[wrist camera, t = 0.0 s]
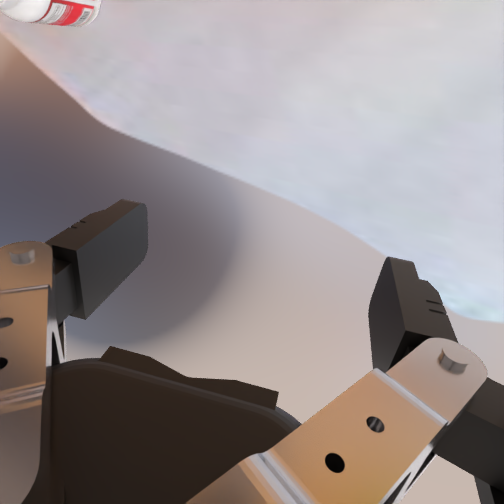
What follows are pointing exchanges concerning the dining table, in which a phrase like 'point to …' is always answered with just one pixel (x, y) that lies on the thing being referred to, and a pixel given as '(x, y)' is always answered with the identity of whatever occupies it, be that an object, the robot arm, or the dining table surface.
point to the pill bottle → (52, 11)
